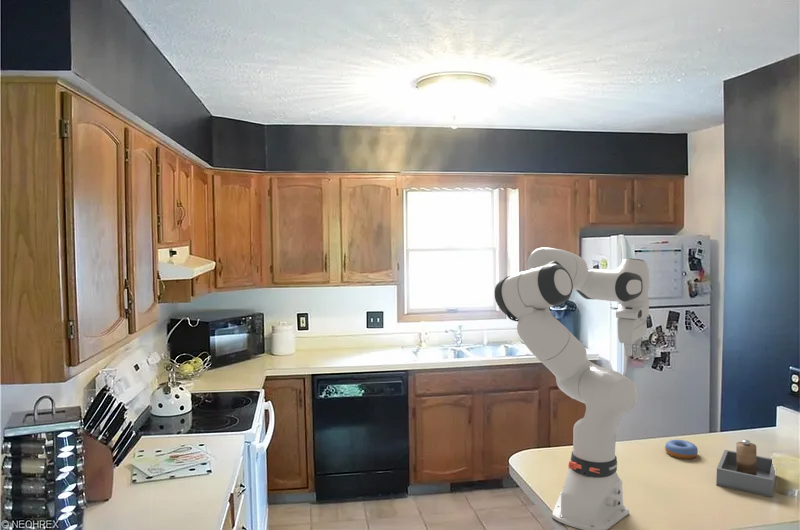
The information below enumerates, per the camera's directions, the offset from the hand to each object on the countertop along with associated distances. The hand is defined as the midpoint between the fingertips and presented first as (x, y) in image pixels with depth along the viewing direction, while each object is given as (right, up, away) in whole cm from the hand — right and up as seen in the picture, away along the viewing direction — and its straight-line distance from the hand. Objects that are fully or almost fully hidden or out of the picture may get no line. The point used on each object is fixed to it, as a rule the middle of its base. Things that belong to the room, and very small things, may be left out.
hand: (632, 353), depth 183 cm
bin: (+31, -37, -8) cm, 49 cm away
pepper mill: (+31, -36, -8) cm, 49 cm away
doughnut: (+21, -37, +13) cm, 44 cm away
